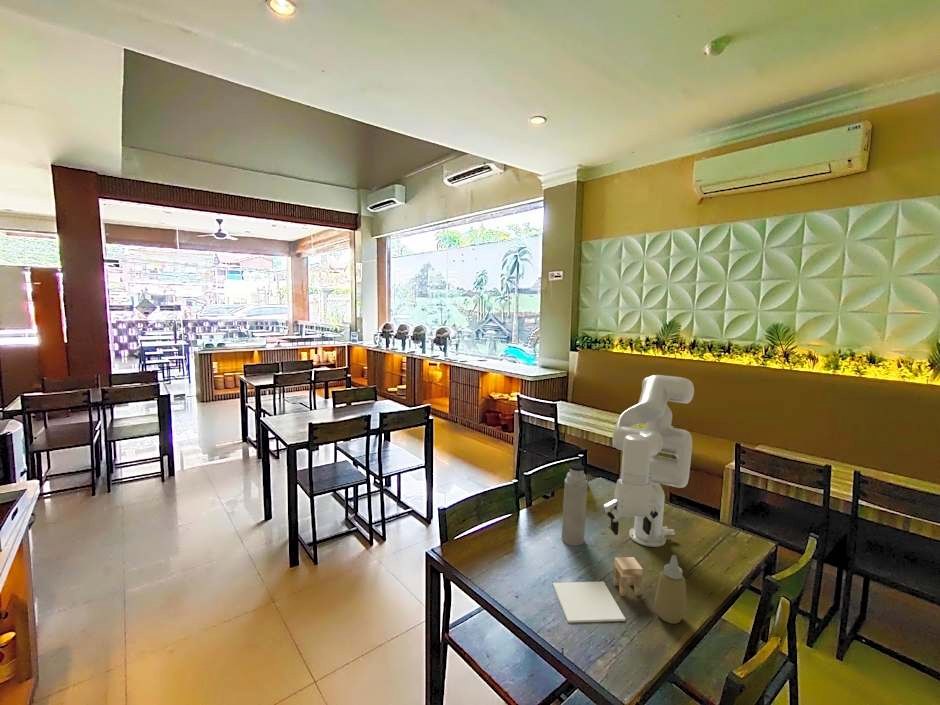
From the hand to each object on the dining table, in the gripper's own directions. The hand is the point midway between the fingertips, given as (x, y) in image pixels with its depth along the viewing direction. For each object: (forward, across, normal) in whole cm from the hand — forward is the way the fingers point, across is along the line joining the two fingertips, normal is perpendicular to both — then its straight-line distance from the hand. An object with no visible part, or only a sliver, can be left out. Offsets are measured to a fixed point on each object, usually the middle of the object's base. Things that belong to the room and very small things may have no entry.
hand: (630, 532), depth 132 cm
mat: (+19, +14, +4) cm, 23 cm away
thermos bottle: (+18, +8, -28) cm, 35 cm away
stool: (+18, 0, 0) cm, 18 cm away
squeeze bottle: (+19, -7, +12) cm, 23 cm away
